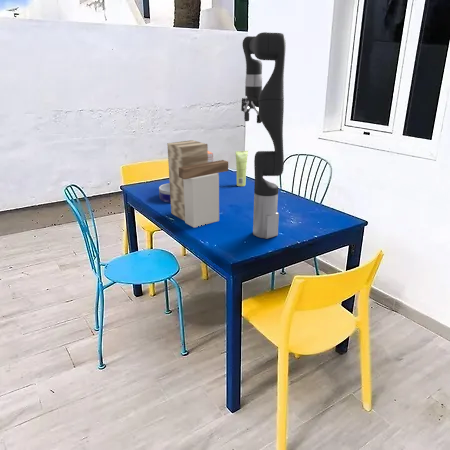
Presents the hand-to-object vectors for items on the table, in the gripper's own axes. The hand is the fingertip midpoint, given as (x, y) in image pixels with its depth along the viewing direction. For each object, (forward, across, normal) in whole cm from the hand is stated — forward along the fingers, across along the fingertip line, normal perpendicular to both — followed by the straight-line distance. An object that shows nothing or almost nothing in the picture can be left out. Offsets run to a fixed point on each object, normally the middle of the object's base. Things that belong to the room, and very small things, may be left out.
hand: (252, 122), depth 183 cm
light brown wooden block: (+17, -10, +35) cm, 40 cm away
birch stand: (+38, +1, +36) cm, 52 cm away
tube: (+38, +22, -12) cm, 46 cm away
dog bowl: (+38, +26, +29) cm, 55 cm away
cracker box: (+38, +30, +8) cm, 49 cm away
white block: (+38, -10, +36) cm, 54 cm away
